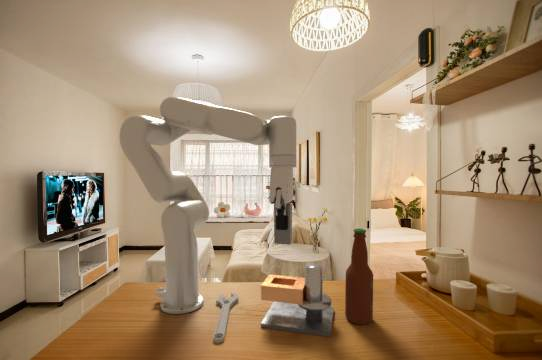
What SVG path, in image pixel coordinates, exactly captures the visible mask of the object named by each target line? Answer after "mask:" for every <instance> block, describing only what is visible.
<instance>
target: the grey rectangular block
mask: <svg viewBox="0 0 542 360" xmlns="http://www.w3.org/2000/svg"><path fill="white" fill-rule="evenodd" d="M275 204H276V203H274V204H273V222H274V223H273V225H274V226H273V233H274V234H273V237H274V238H273V241H274V244H277V245H291V244H292V243H293V203H291V202H290V203H288V204H287V214H286V215H288V229H287V230H277V229H276V208H275ZM281 204H284V203H281ZM283 208H284V206H283Z"/></svg>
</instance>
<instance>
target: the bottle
mask: <svg viewBox="0 0 542 360" xmlns="http://www.w3.org/2000/svg"><path fill="white" fill-rule="evenodd" d="M353 232H354V233H353V238H354V240H353V241H352V242H353V243H352V247H351V257H350V259H351V260H350V261H351V262H350V264H349V265H348V267H347V269H346V271H345V296H344V297H345V300H344V301H345V303H344V304H345V305H344V306H345V307H344V312H345V317H346V319H347V320H348V321H349V322H351V323H352V324H355V325H358V326H361V325H362V326H363V325H368V324H370V323H371V322H372V321H373V319H374V318H373V317H374V316H373V315H374V311H373V310H374V273H373V271H372V269H371V268H370V266H369V263H368V262H369V257H368V256H369V255H368V246H367V242H366V238H367V235H366V234H367V230H366V229H364V228H355V229H354V230H353Z"/></svg>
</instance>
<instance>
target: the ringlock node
mask: <svg viewBox="0 0 542 360" xmlns="http://www.w3.org/2000/svg"><path fill="white" fill-rule="evenodd" d="M323 269H324V266H323V265H321V264H318V263H307V264H304V277H301V276H290V275H278V274H268V276H266V278H265V280H264V281H263V282H262V283H261V285H260V300H261V301H268V302H272V303H271V305H270V307H269V309H268V310H267V312H266V313H265V316H264V318H263V319H262V321H261V322H260V328H265V329H271V328H272V329H271V330H279V331H285V332H293V333H301V334H306V335H313V336H320V337H327V338H331V337H332V335H331V334H332V330H333V329H332V327H333V319H334V310H335V309H334V308H335V307H334V306H332V301H333V299H332V298H331V296H330V295H328V294H326V293H323V291H324V290H323V289H324V288H323V287H324V286H323V285H324V270H323Z"/></svg>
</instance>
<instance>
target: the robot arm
mask: <svg viewBox="0 0 542 360" xmlns="http://www.w3.org/2000/svg"><path fill="white" fill-rule="evenodd" d="M159 114H160V116H161V117H162V118H161V119H160V118H156V117H154V116H153V117H152V116H149V115H142V114H136V115H135V114H134V115H131V116H128V117H127V118H126V119H125V120H124V121H122V124H121V126H120V129H119V144H120V146H121V150H122V152H123V154H124V155H125V157H126V158H127V160H128V162H129V163H130V164H131V165H132V167H133V169H134V170H135V172H136V173H137V176H138V178H139V179H140V181H141V182H142V184H143V185H144V188H145V189H146V190H147V193H148V194H149V195H150V198H152V199H153V200H154V201H155V202H156V203H161V204H162V203H169V202H170V203H171V202H173V203H171V204H169V205H168V206H167V207H165V209H164V210H163V211H162V213H161V217H160V224H161V230H162V234H163V241H164V242H163V243H164V260H165V262H164V265H165V268H164V269H165V270H164V271H165V272H164V273H165V274H164V275H165V287H157V289H156V292H155V297H156V298H157V297H158V298H162V300H161V302H160V310H161V311H162V312H164V313H167V314H169V315H170V314H171V315H180V314H181V315H182V314H188V313H190V312H194V311H196V310H198V309H199V308H201V307H202V305H204V297H203V296H202V295H201V294H200V293H199V267H198V266H199V259H198V258H199V255H198V253H199V252H198V250H199V249H198V241H197V237H196V234H195V229H198V228H200V227H202V226H204V225H205V224H206V223H207V221H208V220H209V217H210V208H209V207H208V204H207V203H206V201H205V199H204V197H203V196H202V194H201V192H200V191H199V189H198V187H197V185H196V184H195V182H194V181H193V179H191V177H190V176H188V175H187V174H186V173H184V172H182V171H172V170H170V168H169V167H168V166H167V164H166V163H165V161H164V160H163V158H162V156H161V155H160V154H159V152H157V150H155V149H154V148H153V146H166V145H169V144H171V143H173V142H175V141H176V140H178V139H179V138H181V137H183V136H185V135H186V134H188V133H189V132H191V131H194V132H198V133H201V134H202V133H203V134H206V135H210V136H211V135H216V136H220V137H225V138H228V139H232V140H235V141H240V142H243V143H246V144H251V145H254V146H263V145H268V151H269V152H268V153H269V154H268V160H269V161H268V164H269V165H268V166H269V168H270V173H269V174H270V175H269V198H268V200H269V201H268V202H269V203H270V204H271V205H274V204H275V203H276V204H275V208H276V229H277V230H287V229H288V215H286V214H287V204H288V203H291V202H292V201H293V200H294V169H293V168H297V120H296V119H295V117H293V116H288V115H287V116H286V115H279V116H273V117H271V118H270V119H264V118H262V117H260V116H258V115H256V114H254V113H253V114H252V113H250V112H247V111H242V110H237V109H234V108H229V107H224V106H219V105H215V104H210V103H206V102H201V101H198V100H193V99H189V98H185V97H180V96H168V97H167V98H164V99H163V100H162V102H161V103H160V106H159ZM281 203H284V204H281ZM283 206H284V208H283Z"/></svg>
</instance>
